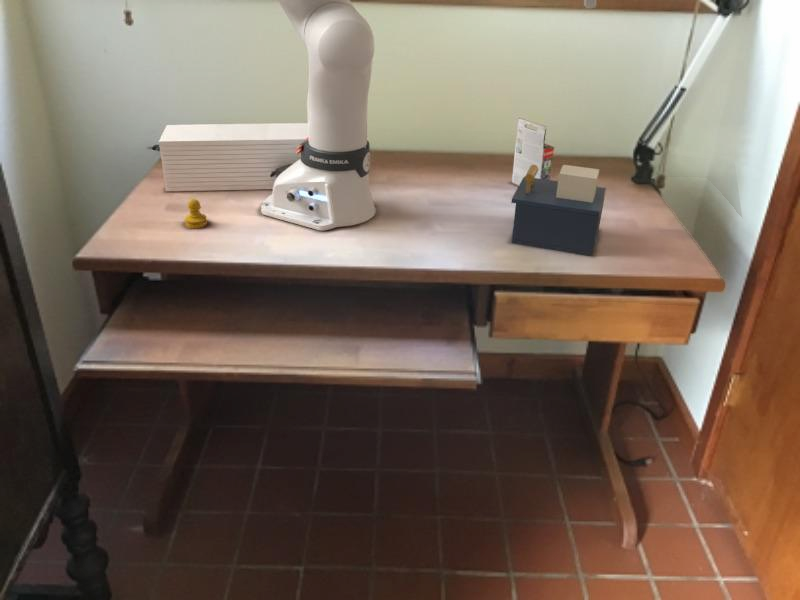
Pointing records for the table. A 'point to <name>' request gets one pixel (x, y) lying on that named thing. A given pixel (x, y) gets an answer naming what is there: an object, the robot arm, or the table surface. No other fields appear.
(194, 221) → the chess piece
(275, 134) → the white ribbed box
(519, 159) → the ink box
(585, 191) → the cream box
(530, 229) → the chest
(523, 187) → the lid
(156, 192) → the table surface
